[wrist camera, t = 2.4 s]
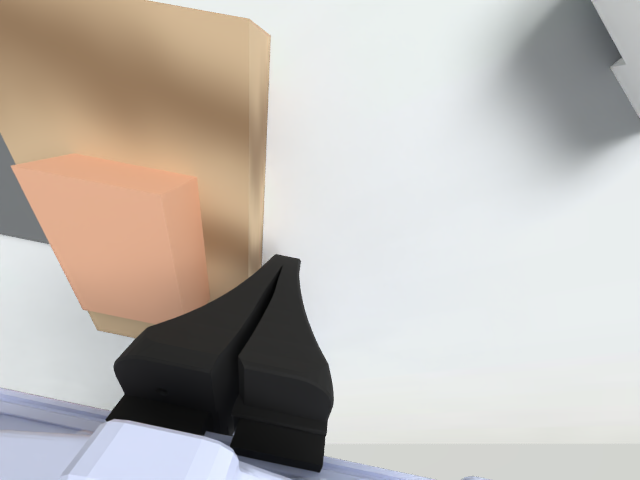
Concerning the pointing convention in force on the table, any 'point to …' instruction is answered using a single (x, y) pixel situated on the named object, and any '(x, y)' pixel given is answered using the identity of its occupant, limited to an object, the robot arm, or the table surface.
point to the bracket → (624, 43)
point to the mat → (15, 203)
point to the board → (147, 108)
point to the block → (121, 234)
